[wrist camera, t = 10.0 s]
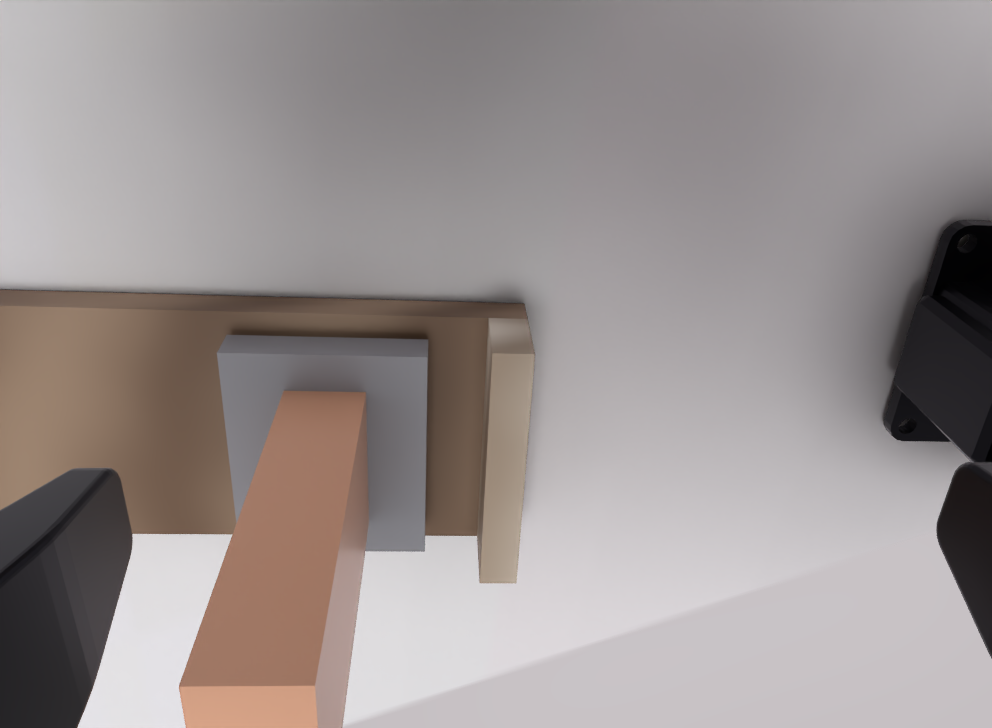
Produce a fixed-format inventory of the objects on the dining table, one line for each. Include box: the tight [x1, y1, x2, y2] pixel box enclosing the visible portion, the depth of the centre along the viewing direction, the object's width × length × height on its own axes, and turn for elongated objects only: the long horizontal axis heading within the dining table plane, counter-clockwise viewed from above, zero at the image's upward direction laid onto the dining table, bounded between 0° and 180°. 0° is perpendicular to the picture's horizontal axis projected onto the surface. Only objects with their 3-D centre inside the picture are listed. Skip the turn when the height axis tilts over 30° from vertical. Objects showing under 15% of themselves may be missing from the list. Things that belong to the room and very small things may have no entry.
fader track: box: [0, 290, 535, 583], centre depth 22 cm, size 17×7×3 cm, turn 87°
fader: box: [179, 335, 428, 728], centre depth 18 cm, size 5×6×10 cm
